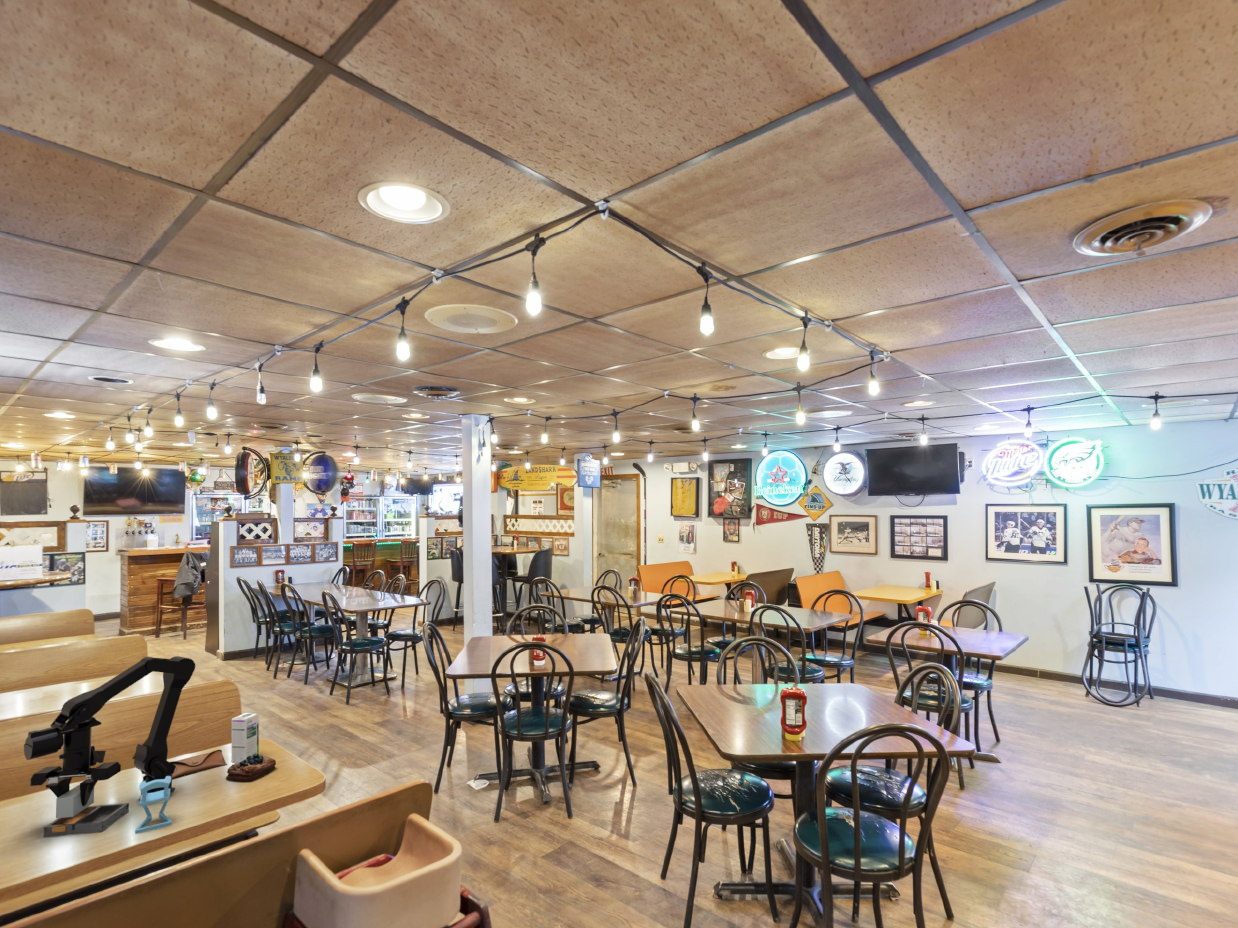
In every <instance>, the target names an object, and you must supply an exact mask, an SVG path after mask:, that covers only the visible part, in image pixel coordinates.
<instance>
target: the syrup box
mask: <svg viewBox="0 0 1238 928" xmlns="http://www.w3.org/2000/svg"><path fill="white" fill-rule="evenodd" d="M259 723H260V713H257V712H244V713H242V714H240V715H239V714H238V715H237V716H235V717H232V718H231V762H232V763H234V764H235V763H238V762H241V761H243V760H244V759H246V758H247V757H248V756H253V755H254V754H259V753H260V752H259V751H260V743H259V742H260V737H259V736H260V730H259V729H260V728H259V727H260V725H259Z"/></svg>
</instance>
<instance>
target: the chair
mask: <svg viewBox="0 0 1238 928" xmlns="http://www.w3.org/2000/svg"><path fill="white" fill-rule="evenodd" d="M142 781H143V780H142ZM142 781H141V782H140V783H139V786H138V787H139V788H138V789H139V791H140V798H139V799H140V801H139V804H138V807H139V808H141V807H142V808H143V810H144V812H145V815H146V818H145V819H143V821H142V822H141V823H140V824H139V825H138V826H137V827H136V828H135V831H134V833H135V835H136V834H141V833H145V832H149V831H154V830H157V829H161V828H165V827H169V826H171V825H173V820H172V818H170V817H169V816H167V815H166V814H165V810H166V806H167V805H168V802H169V801H170V798H171V797H170V796H171V793H170V789H168V786H169V784H170V782H171V776H166V778H165V779H158V780H153V781H150V782H148V783H146V781H143V782H142ZM160 787H164V789H165V790H162V791H158V792H153V793H147V791H148V790H151V789H154V788H160ZM141 793H142V795H141ZM162 802H163V803H162ZM156 803H162V806H161V809H160V811H159V813H158V816H159V817H158V818H159V819H160V820H161V821H163V822H161V823H156V824H152V825H148V824H149V823H150V822H151V820H152V818H153V817H152V816H153V815H152V813H151V811H150V810H149V807H148V805H151V804H156ZM146 825H148V826H146Z"/></svg>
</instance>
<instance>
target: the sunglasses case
mask: <svg viewBox="0 0 1238 928" xmlns="http://www.w3.org/2000/svg"><path fill="white" fill-rule="evenodd" d="M169 762H170V763H172V764H173V765H175V766H176V768H175V770H174V773H173V774H172V781H174V780H176V779H179V778H184V777H187V776H190V775H193V774H194V775H195V774H197V773H201V772H205V771H209V770H212V769H216V768H220V767H224V766H227V765H228V763H227V762H226V760H225V758H224V755H223V751H222V750H221V749H217V750H215V749H214V750H213V751H210V752H207V753H202V754H199V755H194V756H190V757H186V758H182V759H179V760H174V761H169Z"/></svg>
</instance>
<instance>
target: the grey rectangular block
mask: <svg viewBox="0 0 1238 928" xmlns="http://www.w3.org/2000/svg"><path fill="white" fill-rule="evenodd" d="M94 803H95V787H94V788H93V790H92V793H91V795H90V797H89V800H88V802H87V804H86V805H85V806H82V803H81V794H80V784H78V785H76V786H74V787H73V788H71V789H70V791H68V792H66V793H65V794H63V795H61V796H60V797H58V798H57V797H56V801H55V805H56V806H55V819H58V818H65V817H73V816H75V815H76V814H78V813H79V812H81V811H82V810H84V809H85V808H87V807H88V806H92V804H94Z"/></svg>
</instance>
